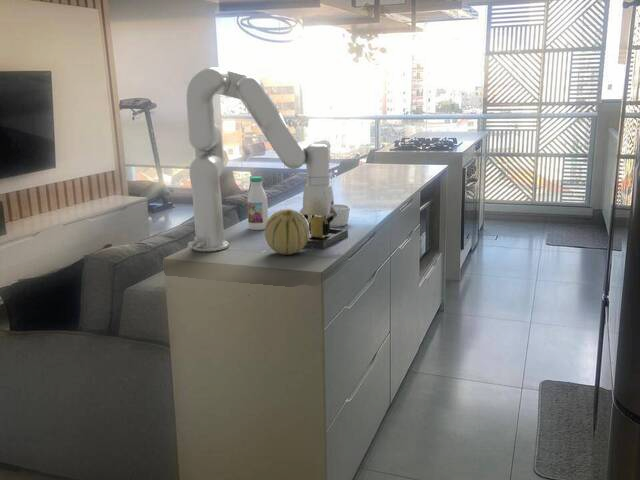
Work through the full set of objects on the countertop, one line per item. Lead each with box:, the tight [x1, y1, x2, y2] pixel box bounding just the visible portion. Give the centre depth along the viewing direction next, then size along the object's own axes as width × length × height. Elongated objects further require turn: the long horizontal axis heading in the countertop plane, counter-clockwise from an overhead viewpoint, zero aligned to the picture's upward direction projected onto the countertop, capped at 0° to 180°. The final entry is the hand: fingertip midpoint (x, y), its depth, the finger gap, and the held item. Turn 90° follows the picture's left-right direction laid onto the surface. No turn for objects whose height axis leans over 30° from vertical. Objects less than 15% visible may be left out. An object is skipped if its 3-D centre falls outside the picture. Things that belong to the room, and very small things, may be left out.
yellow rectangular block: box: [310, 215, 329, 238], centre depth 211 cm, size 4×4×7 cm
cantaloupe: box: [264, 208, 310, 255], centre depth 201 cm, size 15×15×15 cm
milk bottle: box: [246, 176, 269, 231], centre depth 237 cm, size 8×8×20 cm
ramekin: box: [330, 203, 351, 228], centre depth 242 cm, size 13×13×7 cm
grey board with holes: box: [303, 227, 349, 250], centre depth 216 cm, size 20×8×2 cm, turn 153°
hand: (319, 233), depth 211 cm, fingers closed on yellow rectangular block, 4 cm apart
